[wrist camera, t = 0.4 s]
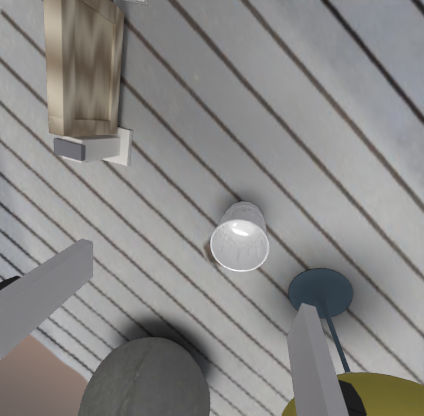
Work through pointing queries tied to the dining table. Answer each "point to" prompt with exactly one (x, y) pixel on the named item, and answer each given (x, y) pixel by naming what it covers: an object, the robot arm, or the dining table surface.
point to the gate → (83, 66)
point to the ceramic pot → (147, 382)
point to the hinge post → (138, 1)
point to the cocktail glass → (362, 382)
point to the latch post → (96, 147)
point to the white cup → (240, 238)
